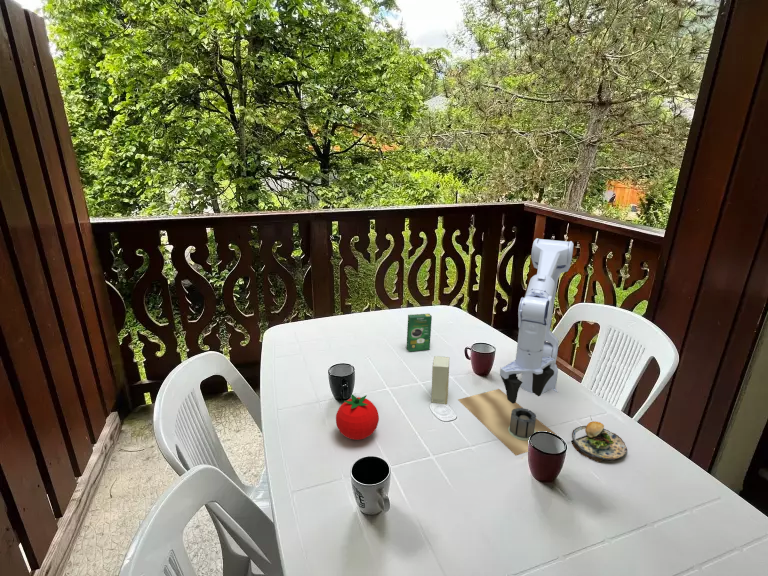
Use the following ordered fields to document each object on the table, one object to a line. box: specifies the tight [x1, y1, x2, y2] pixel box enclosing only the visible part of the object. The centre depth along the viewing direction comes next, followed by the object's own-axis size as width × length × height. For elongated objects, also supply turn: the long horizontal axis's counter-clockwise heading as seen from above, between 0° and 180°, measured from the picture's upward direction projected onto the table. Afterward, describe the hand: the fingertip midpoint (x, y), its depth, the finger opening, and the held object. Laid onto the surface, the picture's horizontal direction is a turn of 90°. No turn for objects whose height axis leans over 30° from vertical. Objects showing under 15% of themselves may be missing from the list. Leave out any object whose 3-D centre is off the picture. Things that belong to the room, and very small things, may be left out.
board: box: [457, 388, 558, 457], centre depth 106 cm, size 14×24×5 cm, turn 23°
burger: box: [570, 415, 628, 464], centre depth 97 cm, size 12×12×8 cm
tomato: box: [335, 393, 380, 441], centre depth 100 cm, size 10×10×10 cm
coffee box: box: [406, 313, 433, 353], centre depth 143 cm, size 8×3×13 cm, turn 103°
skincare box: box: [431, 355, 450, 405], centre depth 114 cm, size 6×4×12 cm
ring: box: [510, 407, 537, 438], centre depth 100 cm, size 6×6×4 cm
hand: (523, 397), depth 99 cm, fingers open, 7 cm apart
